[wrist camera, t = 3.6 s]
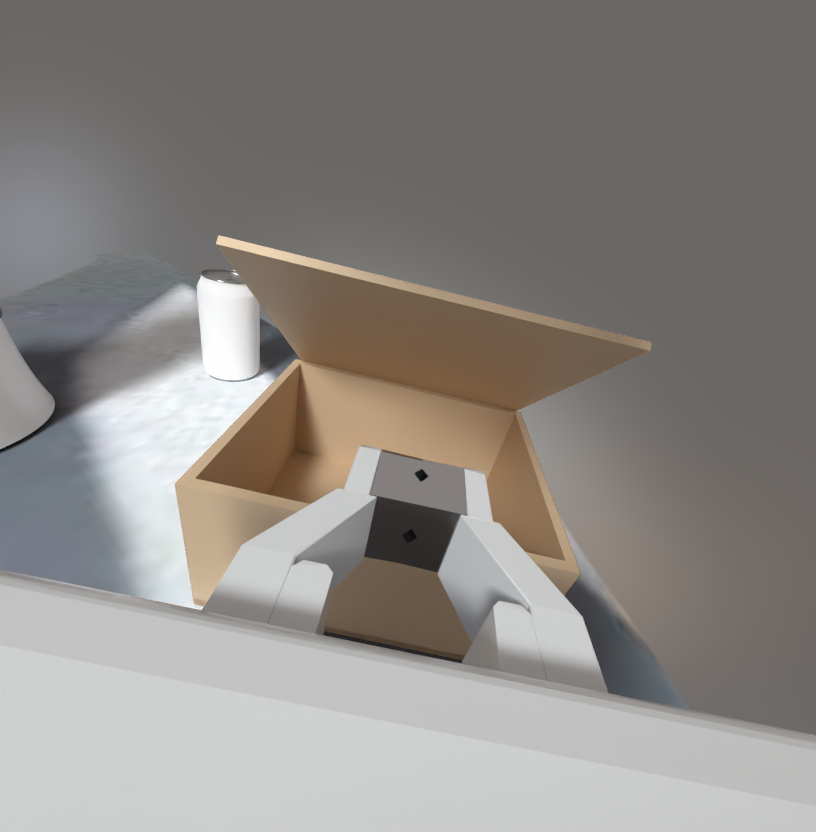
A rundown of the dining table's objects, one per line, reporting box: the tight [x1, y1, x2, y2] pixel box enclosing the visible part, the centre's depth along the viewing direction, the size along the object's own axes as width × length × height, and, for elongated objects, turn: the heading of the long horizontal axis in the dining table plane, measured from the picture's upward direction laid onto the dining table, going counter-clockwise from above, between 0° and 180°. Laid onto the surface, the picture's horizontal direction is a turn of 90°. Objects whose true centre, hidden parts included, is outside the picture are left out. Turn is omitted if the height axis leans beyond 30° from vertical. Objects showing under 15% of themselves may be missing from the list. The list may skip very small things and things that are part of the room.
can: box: [197, 268, 260, 382], centre depth 43 cm, size 6×6×12 cm
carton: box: [175, 359, 581, 661], centre depth 27 cm, size 16×20×10 cm
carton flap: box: [216, 236, 651, 411], centre depth 23 cm, size 16×19×1 cm
